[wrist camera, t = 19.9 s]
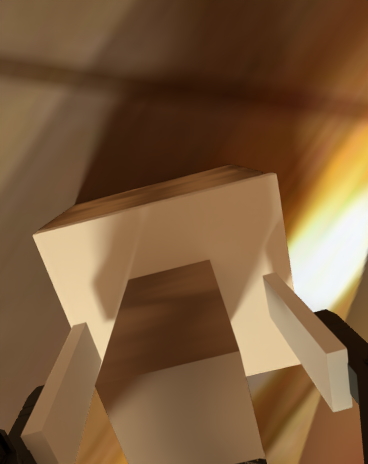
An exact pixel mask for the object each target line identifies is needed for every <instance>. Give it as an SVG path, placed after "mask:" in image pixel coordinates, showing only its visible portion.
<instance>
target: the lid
mask: <svg viewBox="0 0 368 464" xmlns="http://www.w3.org/2000/svg"><path fill="white" fill-rule="evenodd" d="M33 238H34V240H35V242H36V245H37V247H38V250H39V252H40V254H41V257H42V259H43V261H44V264H45V266H46V269H47V271H48V273H49V276H50V278H51V280H52V283H53V285H54V288H55V290H56V292H57V295H58V297H59V299H60V302H61V304H62V307H63V309H64V311H65V314H66V316H67V318H68V321H69V323H70V326H71V328H72V327H73V325H77V324H81V323H85V322H86V323H87V325H88V328H89V330H90V333H91V335H92V338H93V340H94V343H95V345H96V348H97V350H98V353H99V355H100V358H101V360H102V361H103V358H104V355H105V352H106V348H107V345H108V342H109V339H110V336H111V333H112V329H113V326H114V323H115V320H116V317H117V314H118V310H119V307H120V304H121V301H122V298H123V295H124V291H125V288H126V285H127V282H128V280H129V279H133V278H137V277H141V276H145V275H149V274H153V273H157V272H161V271H165V270H169V269H173V268H177V267H181V266H185V265H189V264H193V263H197V262H201V261H205V260H209V259H210V262H211V265H212V268H213V271H214V274H215V277H216V280H217V283H218V286H219V289H220V292H221V295H222V298H223V301H224V304H225V307H226V310H227V313H228V316H229V319H230V322H231V326H232V329H233V332H234V335H235V338H236V341H237V344H238V347H239V350H240V353H241V358H242V362H243V366H244V371H245V375H246V377H247V376H251V375H255V374H260V373H264V372H268V371H273V370H277V369H281V368H286V367H290V366H294V365H299V364H301V363H300V361H299V360H298V358H297V357H296V355H295V354H294V352H293V351H292V349H291V348H290V346H289V345H288V343H287V342H286V340H285V339H284V337H283V335H282V334H281V332H280V331H279V329H278V328H277V326H276V325H275V323H274V322H273V320H272V319H271V317H270V315H269V309H268V304H267V298H266V293H265V287H264V282H263V276H262V275H266V274H270V273H274V272H276V273H277V274H278V276H279V277H280V278H281V279H282V280H283V281H284V282H285V283H286V284H287V285H288V286H289V287H290V288H291V289H292V290H293V292H294V287H293V281H292V274H291V267H290V260H289V254H288V247H287V240H286V234H285V227H284V220H283V213H282V207H281V200H280V193H279V187H278V180H277V174H276V173H272V172H271V173H267V174H263V175H260V176H256V177H252V178H248V179H244V180H240V181H236V182H232V183H228V184H224V185H220V186H216V187H212V188H208V189H204V190H200V191H196V192H192V193H188V194H184V195H180V196H176V197H172V198H168V199H164V200H160V201H156V202H152V203H148V204H144V205H140V206H136V207H132V208H128V209H124V210H120V211H116V212H112V213H109V214H105V215H101V216H97V217H93V218H89V219H85V220H81V221H77V222H73V223H69V224H65V225H61V226H57V227H53V228H49V229H45V230H41V231H38V232H36V233H35V234H33ZM101 364H102V362H101ZM100 367H101V366H100ZM99 371H100V370H99ZM98 374H99V373H98Z"/></svg>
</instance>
